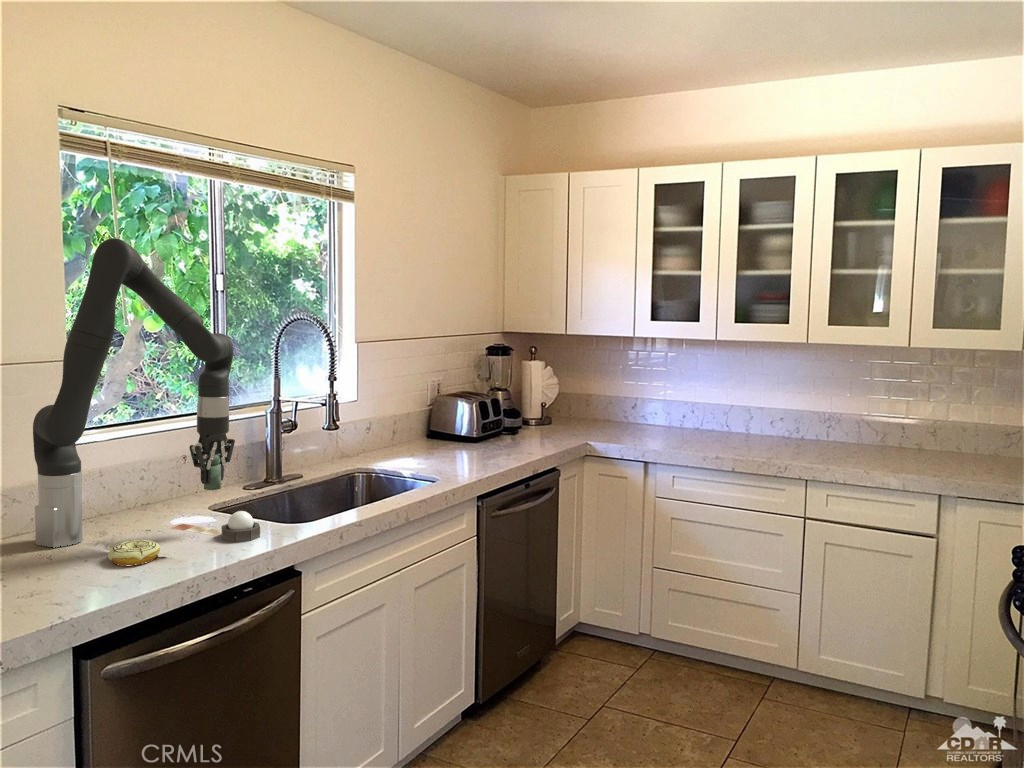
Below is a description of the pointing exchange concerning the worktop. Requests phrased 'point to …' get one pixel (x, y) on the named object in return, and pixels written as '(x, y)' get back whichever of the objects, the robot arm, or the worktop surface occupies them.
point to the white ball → (240, 521)
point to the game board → (225, 532)
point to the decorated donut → (134, 552)
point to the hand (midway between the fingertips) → (212, 481)
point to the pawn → (214, 474)
